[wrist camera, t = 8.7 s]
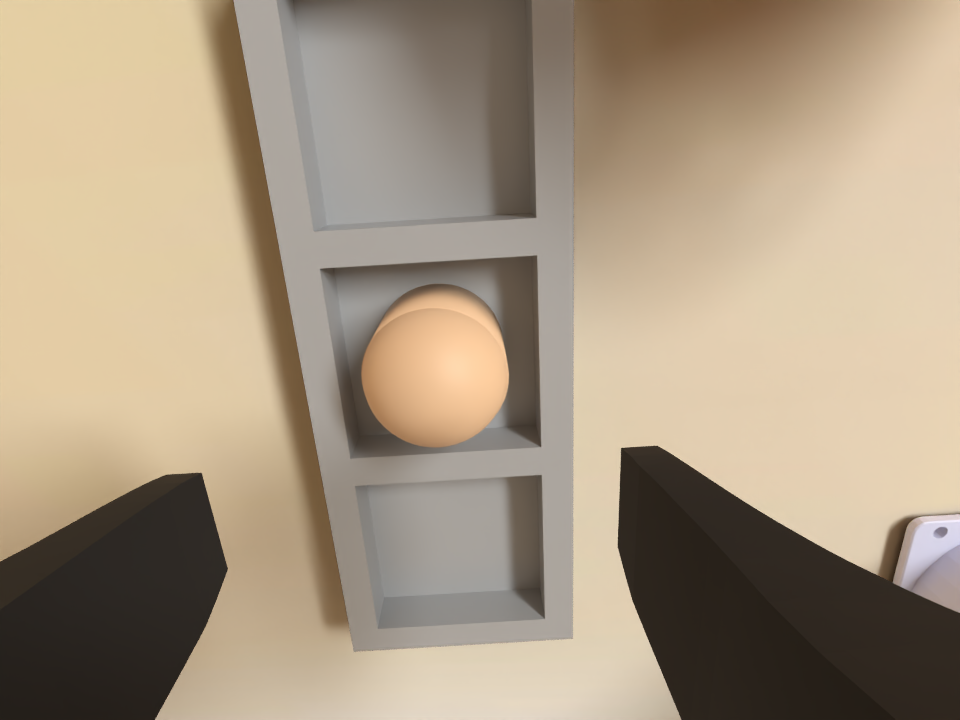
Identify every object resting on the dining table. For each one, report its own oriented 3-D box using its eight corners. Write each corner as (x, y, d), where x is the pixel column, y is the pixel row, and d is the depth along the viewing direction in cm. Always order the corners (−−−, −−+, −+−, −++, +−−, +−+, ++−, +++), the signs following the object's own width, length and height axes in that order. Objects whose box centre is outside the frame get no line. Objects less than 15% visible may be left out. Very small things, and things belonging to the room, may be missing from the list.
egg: (500, 279, 17) (510, 321, 13) (505, 398, 18) (516, 471, 14) (369, 287, 17) (336, 331, 13) (385, 405, 18) (360, 480, 14)
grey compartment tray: (559, -70, 14) (574, -106, 12) (563, 595, 22) (572, 638, 20) (252, -50, 14) (218, -84, 12) (364, 607, 22) (353, 651, 20)
